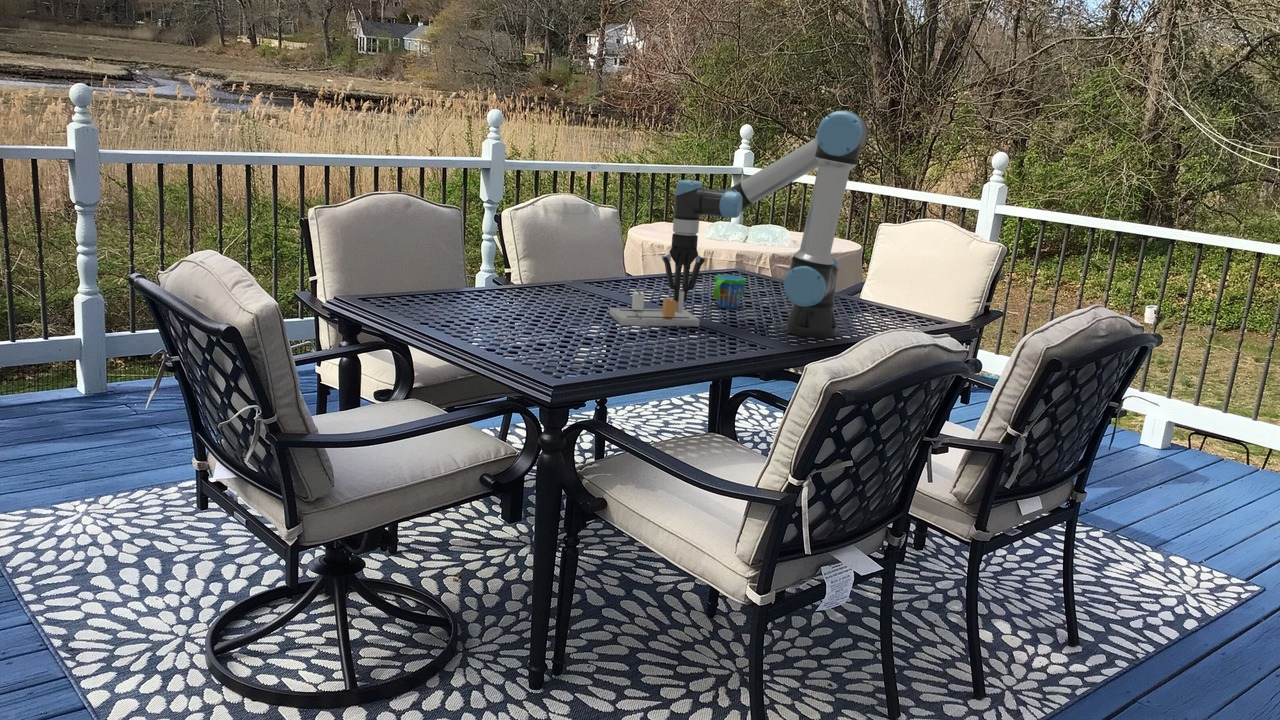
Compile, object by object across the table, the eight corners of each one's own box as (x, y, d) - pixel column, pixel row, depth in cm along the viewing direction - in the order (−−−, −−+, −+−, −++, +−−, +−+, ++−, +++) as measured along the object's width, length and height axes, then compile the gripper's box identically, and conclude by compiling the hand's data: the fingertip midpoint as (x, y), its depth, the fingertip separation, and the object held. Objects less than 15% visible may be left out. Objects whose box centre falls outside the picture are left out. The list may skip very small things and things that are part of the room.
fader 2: (674, 317, 292) (675, 299, 290) (665, 316, 291) (666, 299, 290) (671, 314, 295) (672, 297, 294) (662, 314, 294) (663, 296, 293)
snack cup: (731, 302, 336) (733, 273, 334) (755, 308, 329) (757, 278, 327) (700, 306, 326) (702, 276, 323) (724, 312, 319) (726, 281, 316)
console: (699, 326, 293) (699, 319, 292) (621, 325, 287) (621, 318, 286) (684, 315, 308) (684, 308, 308) (609, 314, 303) (609, 307, 302)
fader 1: (643, 310, 299) (644, 292, 298) (634, 309, 299) (635, 292, 297) (640, 307, 303) (641, 290, 302) (631, 307, 302) (632, 290, 301)
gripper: (702, 232, 293) (696, 310, 299) (660, 231, 290) (655, 309, 296) (710, 236, 286) (703, 315, 292) (667, 234, 283) (661, 314, 289)
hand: (679, 312), depth 294 cm, fingers closed
